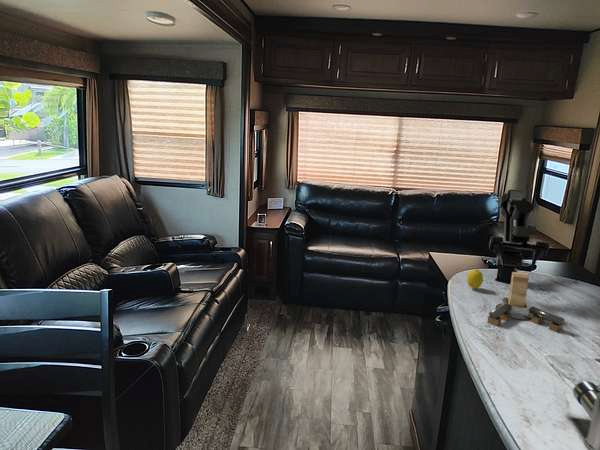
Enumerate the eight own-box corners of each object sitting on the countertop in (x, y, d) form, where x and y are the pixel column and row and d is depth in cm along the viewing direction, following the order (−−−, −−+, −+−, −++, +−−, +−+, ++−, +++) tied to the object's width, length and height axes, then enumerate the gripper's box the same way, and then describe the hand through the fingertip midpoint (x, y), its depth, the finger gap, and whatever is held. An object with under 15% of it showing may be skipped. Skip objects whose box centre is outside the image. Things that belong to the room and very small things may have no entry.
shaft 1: (502, 314, 148) (504, 302, 147) (511, 318, 145) (513, 305, 144) (486, 322, 142) (488, 309, 141) (496, 326, 139) (498, 313, 138)
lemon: (479, 286, 173) (481, 267, 171) (483, 292, 167) (486, 271, 166) (464, 285, 173) (466, 266, 171) (468, 291, 168) (470, 270, 166)
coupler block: (506, 306, 153) (512, 271, 150) (521, 308, 151) (527, 273, 148) (508, 311, 148) (513, 276, 146) (523, 314, 147) (529, 278, 144)
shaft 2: (526, 319, 145) (529, 307, 144) (533, 317, 146) (535, 305, 145) (557, 332, 136) (559, 319, 135) (563, 330, 138) (565, 317, 137)
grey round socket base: (494, 302, 158) (495, 294, 157) (531, 308, 154) (533, 299, 153) (496, 316, 146) (498, 307, 146) (537, 322, 143) (539, 313, 142)
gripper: (494, 214, 158) (491, 252, 151) (553, 219, 152) (554, 259, 145) (489, 230, 167) (487, 267, 160) (545, 236, 162) (545, 274, 154)
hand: (517, 267), depth 154 cm, fingers open, 9 cm apart
